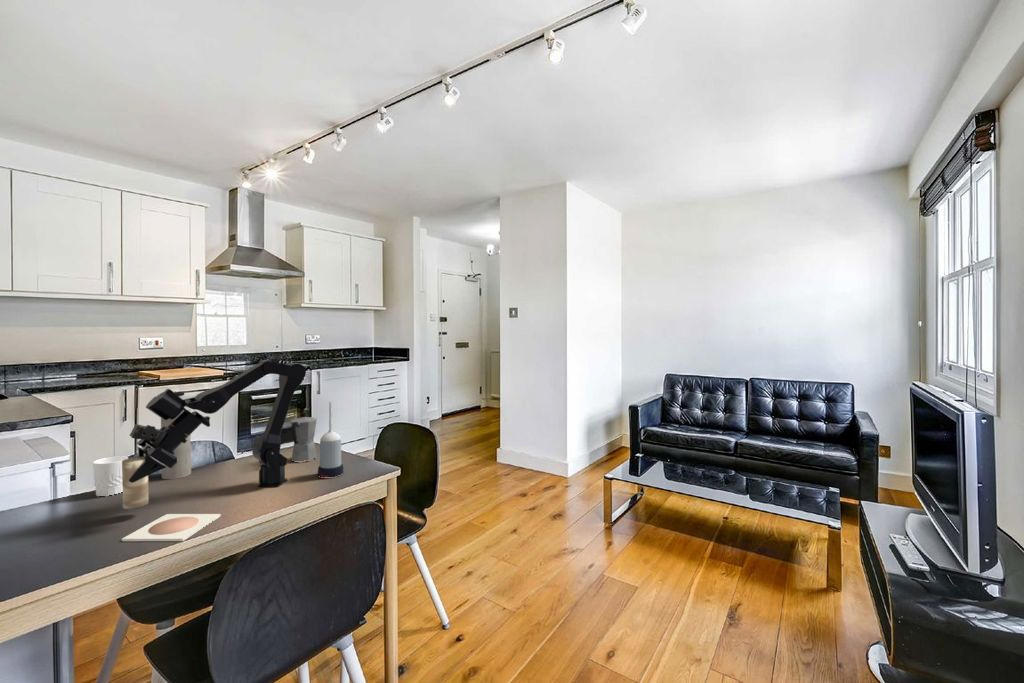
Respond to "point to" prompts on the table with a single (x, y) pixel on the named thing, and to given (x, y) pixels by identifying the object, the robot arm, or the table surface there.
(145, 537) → the card
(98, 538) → the table surface
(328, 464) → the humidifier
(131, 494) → the wooden tube
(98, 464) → the white cup
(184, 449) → the thermos bottle
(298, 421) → the coffeepot
